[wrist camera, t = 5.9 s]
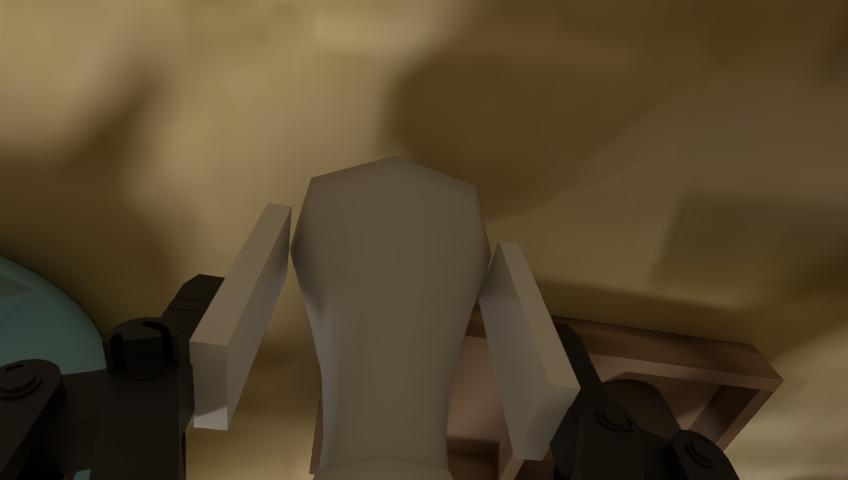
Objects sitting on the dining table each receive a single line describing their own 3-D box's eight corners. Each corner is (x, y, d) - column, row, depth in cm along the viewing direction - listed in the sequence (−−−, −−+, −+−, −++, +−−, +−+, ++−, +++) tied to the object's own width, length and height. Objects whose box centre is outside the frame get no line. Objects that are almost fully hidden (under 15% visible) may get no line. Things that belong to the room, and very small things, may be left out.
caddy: (316, 436, 28) (309, 473, 26) (337, 284, 22) (330, 316, 20) (655, 472, 31) (673, 509, 29) (753, 346, 25) (784, 380, 23)
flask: (478, 326, 19) (541, 625, 10) (298, 322, 18) (207, 632, 10) (505, 157, 15) (638, 400, 7) (282, 146, 15) (115, 394, 6)
